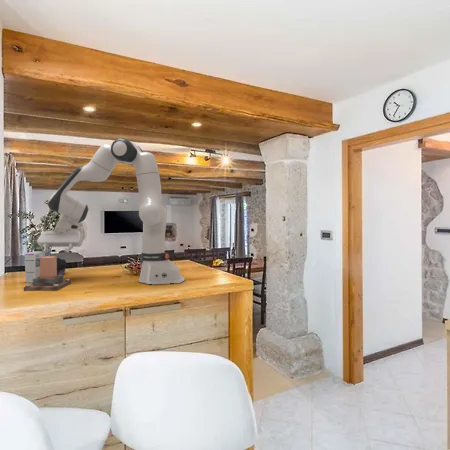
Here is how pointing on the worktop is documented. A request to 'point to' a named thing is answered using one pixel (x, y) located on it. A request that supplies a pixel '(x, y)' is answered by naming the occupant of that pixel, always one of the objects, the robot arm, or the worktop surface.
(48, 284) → the walnut base board
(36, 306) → the worktop surface
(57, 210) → the robot arm
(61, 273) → the crystal cluster
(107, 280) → the worktop surface
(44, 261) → the terracotta tower block
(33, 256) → the syrup box
